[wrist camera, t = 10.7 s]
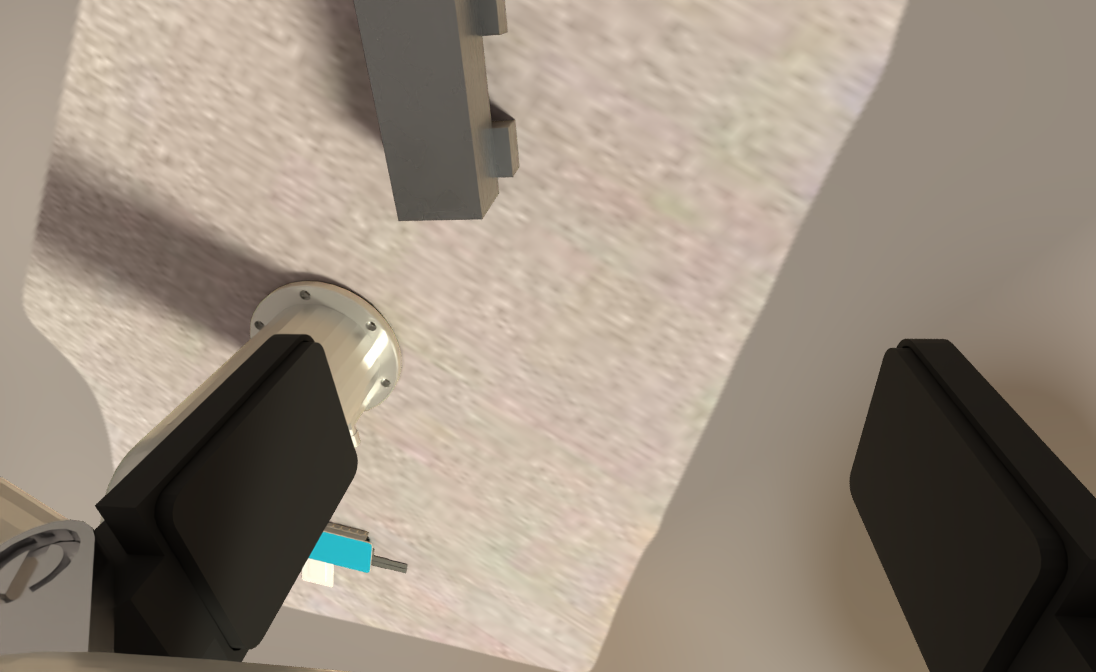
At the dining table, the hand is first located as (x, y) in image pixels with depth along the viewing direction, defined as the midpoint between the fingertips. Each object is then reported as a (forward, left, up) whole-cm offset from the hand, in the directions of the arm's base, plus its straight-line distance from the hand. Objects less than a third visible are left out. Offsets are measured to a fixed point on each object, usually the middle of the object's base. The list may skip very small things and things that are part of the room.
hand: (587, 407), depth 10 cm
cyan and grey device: (-45, +33, -31) cm, 63 cm away
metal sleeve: (+2, +10, -30) cm, 32 cm away
